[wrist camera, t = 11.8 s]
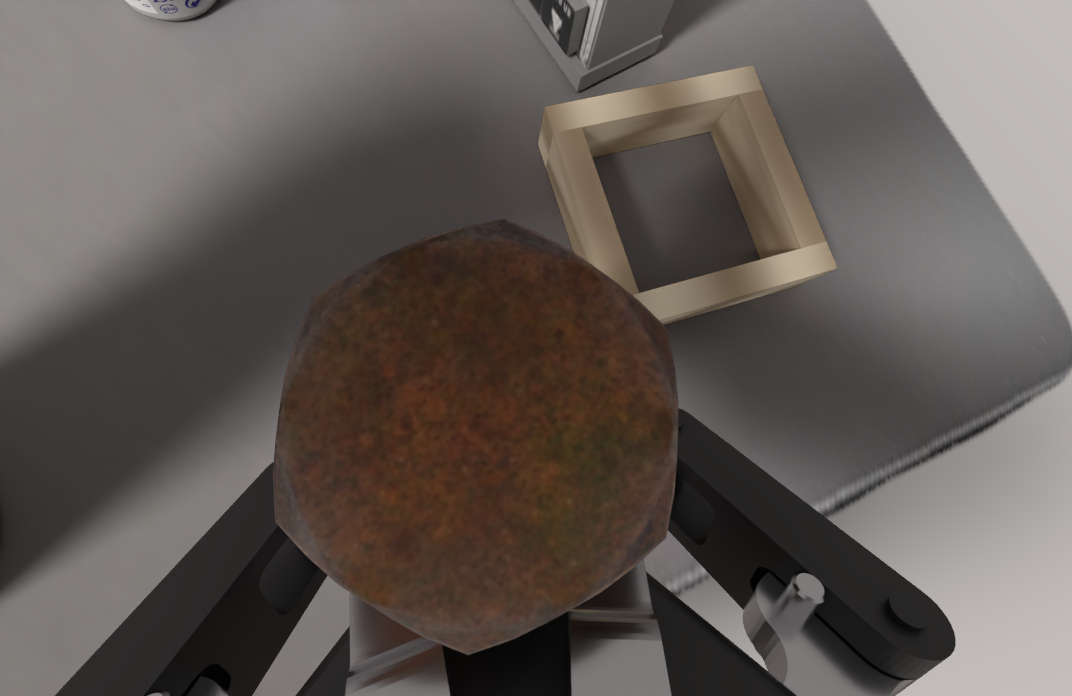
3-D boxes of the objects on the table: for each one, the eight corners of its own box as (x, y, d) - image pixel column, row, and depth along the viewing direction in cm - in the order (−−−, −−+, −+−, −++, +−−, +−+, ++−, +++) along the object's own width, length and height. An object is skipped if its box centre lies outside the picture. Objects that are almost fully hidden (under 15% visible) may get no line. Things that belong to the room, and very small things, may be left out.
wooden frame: (603, 342, 23) (620, 331, 20) (538, 144, 24) (544, 106, 21) (796, 286, 25) (837, 268, 22) (723, 105, 26) (752, 65, 23)
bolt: (570, 412, 21) (767, 380, 6) (511, 504, 19) (571, 749, 5) (471, 344, 21) (418, 146, 6) (407, 433, 20) (152, 459, 5)
